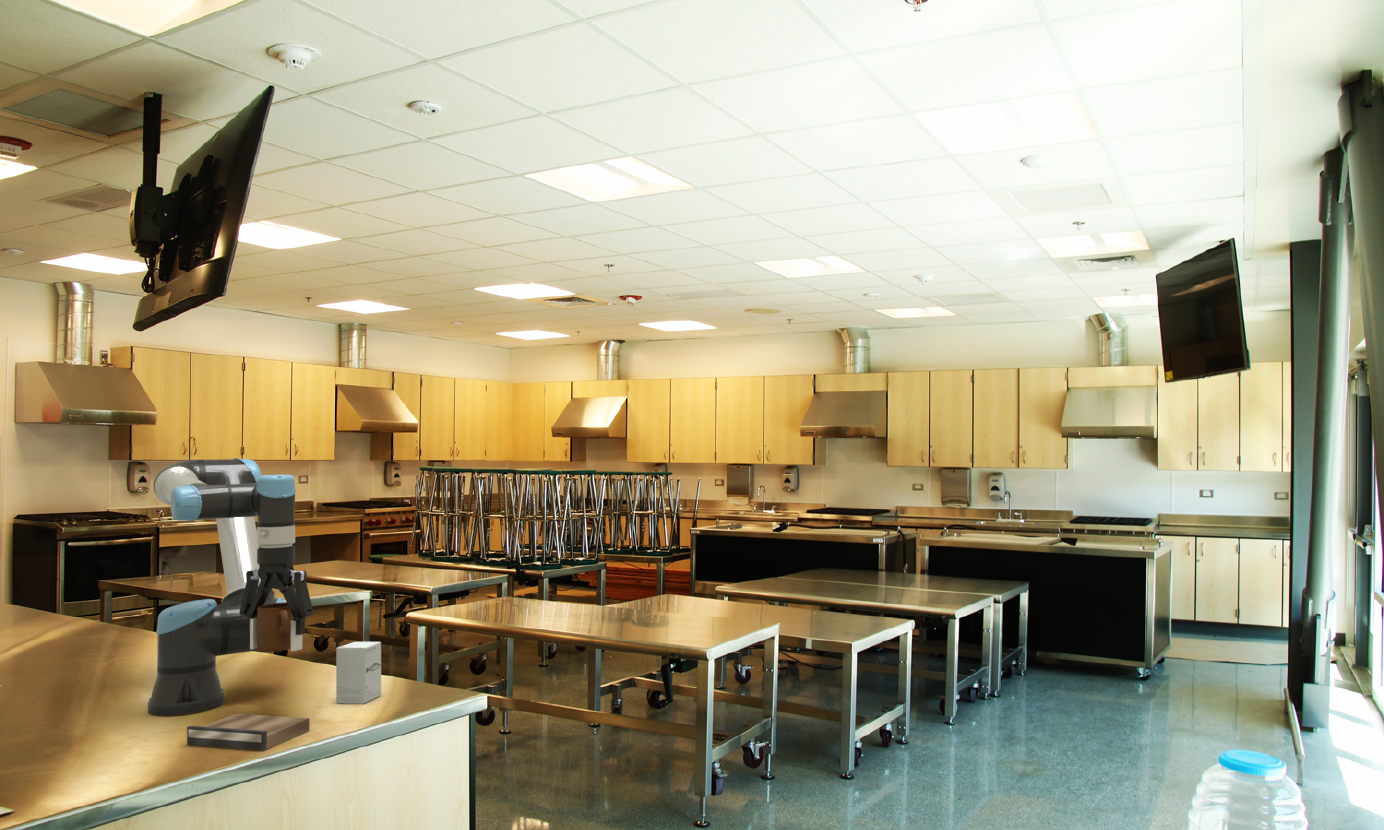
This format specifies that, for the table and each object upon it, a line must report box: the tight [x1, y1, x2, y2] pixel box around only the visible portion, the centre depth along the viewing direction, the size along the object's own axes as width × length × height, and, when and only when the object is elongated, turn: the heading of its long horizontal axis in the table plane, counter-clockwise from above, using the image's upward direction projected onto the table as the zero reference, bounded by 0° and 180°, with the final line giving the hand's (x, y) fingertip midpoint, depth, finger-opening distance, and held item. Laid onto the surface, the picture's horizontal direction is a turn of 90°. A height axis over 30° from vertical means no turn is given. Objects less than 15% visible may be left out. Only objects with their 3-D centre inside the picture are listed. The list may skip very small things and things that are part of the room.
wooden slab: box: [186, 713, 311, 752], centre depth 179 cm, size 18×13×4 cm
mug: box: [257, 602, 294, 653], centre depth 194 cm, size 12×8×9 cm, turn 40°
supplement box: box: [335, 641, 382, 705], centre depth 206 cm, size 7×7×13 cm
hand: (276, 648), depth 194 cm, fingers closed on mug, 10 cm apart
